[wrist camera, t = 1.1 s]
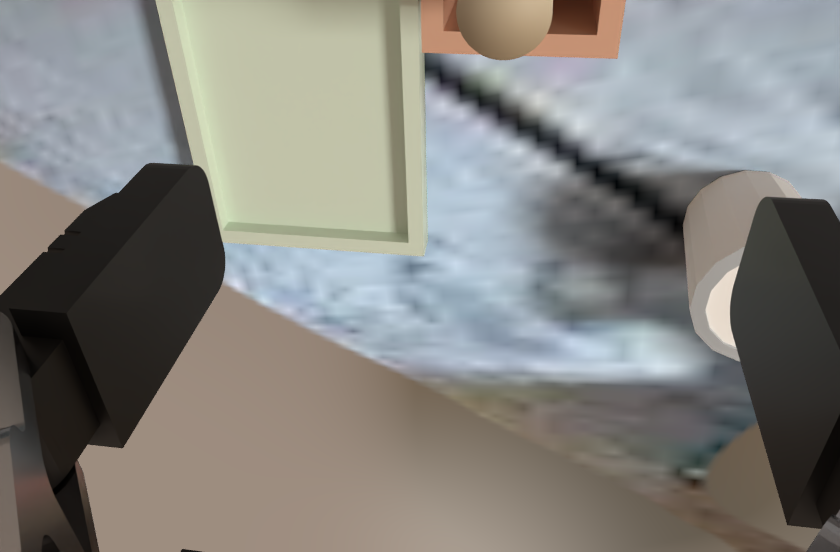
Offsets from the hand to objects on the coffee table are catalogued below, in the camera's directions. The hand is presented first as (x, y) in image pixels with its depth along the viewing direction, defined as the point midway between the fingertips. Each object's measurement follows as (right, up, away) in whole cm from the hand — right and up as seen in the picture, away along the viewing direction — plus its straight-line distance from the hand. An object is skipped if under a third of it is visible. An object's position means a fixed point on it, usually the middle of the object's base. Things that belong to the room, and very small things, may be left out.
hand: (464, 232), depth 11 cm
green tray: (-6, +8, +26) cm, 27 cm away
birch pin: (+3, +14, +18) cm, 23 cm away
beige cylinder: (+16, +2, +26) cm, 30 cm away
